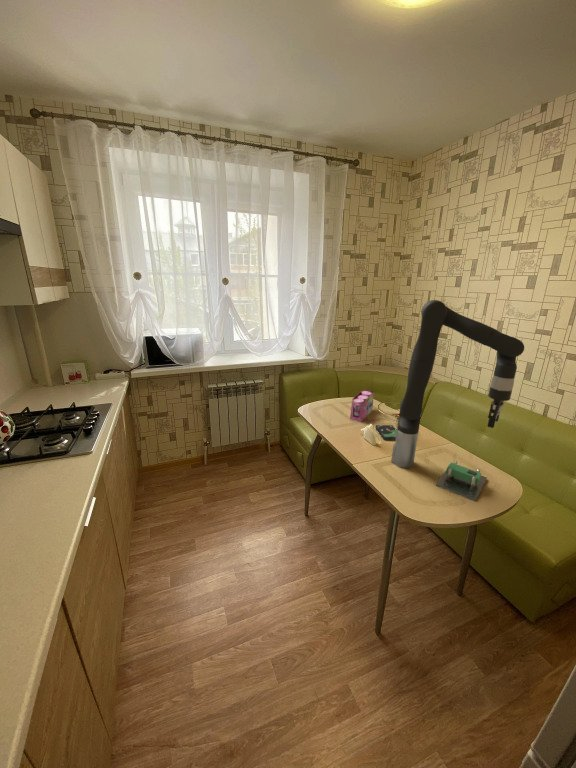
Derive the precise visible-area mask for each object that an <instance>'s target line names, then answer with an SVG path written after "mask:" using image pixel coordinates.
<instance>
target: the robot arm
mask: <svg viewBox="0 0 576 768" xmlns="http://www.w3.org/2000/svg"><path fill="white" fill-rule="evenodd" d="M420 310H421V311H420V312H421V321H420V322H421V323H420V329H419V334H418V337H417V340H416V343H415V345H414V346H413V351H412V352H411V356H410V357H411V358H410V362H409V365H408V373H407V381H406V383H407V384H406V385H407V386H406V390H405V394H404V396H403V398H402V399H401V401H400V405H399V406H400V407H399V411H398V412H399V413H398V421H397V428H396V430H397V434H396V440H395V442H394V443H393V446H392V453H391V460H390V461H391V462H392V463H394V465H395V466H397V467H399V468H404V469H409V468H413V466H414V462H415V457H416V451H417V443H418V438H419V433H420V424H421V416H422V413H423V404H424V397H425V392H426V390H427V386H428V384H429V381H430V378H431V375H432V371H433V369H434V368H433V367H434V366H435V365H434V364H435V361H436V356H437V350H438V343H439V342H438V341H439V337H440V333H441V331H442V328H443V326H445V327H447V328H449V329H452V330H454V331H456V332H458V333H459V334H461V335H463V336H464V337H465V338H468V339H470V340H473V341H475V342H476V343H479V344H480V345H484V346H486V347H488V348H490V349H493V350H494V351H495V352H496V362H495V363H496V364H495V367H494V371H493V375H492V377H491V382H490V386H489V391H488V397H489V398H490V399H492V402H491V403H490V409H489V411H488V415H487V418H488V422H487V427H488V428H491V429H493V428H494V427H495V423H496V422H499V418H500V413H502V411H503V408H504V405H505V402H507V401H510V400H511V397H512V394H513V393H512V392H513V388H514V386H515V385H514V384H515V378H516V374H517V368H518V367H517V366H518V365H517V363H516V362H517V357H520V356H521V355H522V354H523V353H524V351H525V345H524V342H523V341H522V340H521V339H519V338H517V337H514V336H510V335H508V334H505V333H503V332H501V331H500V330H497V329H496V328H494V327H493V326H490V325H488V324H485V323H483V322H480V321H477V320H475V319H472V318H469V317H467V316H464V315H462V314H460V313H459V312H456V311H454V310H453V309H450V308H449V306H447V305H446V304H445V303H444V302H442V301H441V300H437V299H432V300H429V301H427V302H425V303H424V305H423V306H422V308H421V309H420Z"/></svg>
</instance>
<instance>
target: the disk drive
mask: <svg viewBox="0 0 576 768" xmlns="http://www.w3.org/2000/svg"><path fill="white" fill-rule="evenodd" d="M375 428H376V429H375ZM375 428H374V429H375V430H376V431H378V432H379V433H378V432H377V433H378V435H379V436H380V435H381V436H380V438H381V439H382V440H383V441H396V434H397V431H396V430H397V429H396V428H395V426H394V425H391V424H389V425H388V424H384V425H379V424H378V425H377V424H376V425H375ZM395 429H396V430H395Z"/></svg>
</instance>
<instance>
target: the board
mask: <svg viewBox="0 0 576 768" xmlns="http://www.w3.org/2000/svg"><path fill="white" fill-rule="evenodd" d="M449 468H451V469H452V472H451V475H452V476H454V477H457V478H460V479H462V480H465V481H468V482H470V483H471V481H472V477H475V478H476V479H475V483H474V484H476V485H477V484H478V482H479V480H480V478H481V476H482V472H481V471H480V472H477V470H475V469H471V468H468V467H465V466H463V465H459V464H458V463H457V464H454V462H450V463H449V464H448V466H447V467H446V470H447V471H446V470H445V471H446V474H448V470H449Z"/></svg>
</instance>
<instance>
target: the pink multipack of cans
mask: <svg viewBox="0 0 576 768" xmlns="http://www.w3.org/2000/svg"><path fill="white" fill-rule="evenodd" d="M374 395H375V391H373V390H368V389H363V390H361V391H360V392H359V393H358V394H356V395H354V397H352V400H351V406H350V413H349V415H350V416H349V420H351V419H352V420H351V421H355V420H356V421H357V422H361V423H362V422H363V421H364V420H365V419H366V418H367V417H368V416H369V415H368V414H371V413H372V411H373V408H374V407H373V405H374V397H375V396H374ZM370 412H371V413H370ZM367 415H368V416H367ZM356 421H355V422H356Z"/></svg>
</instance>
